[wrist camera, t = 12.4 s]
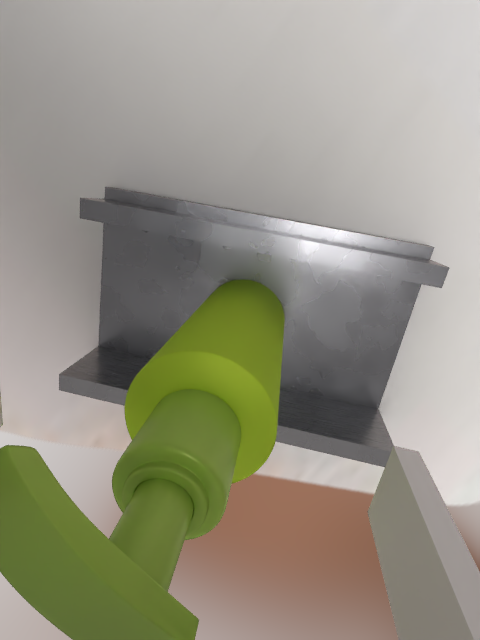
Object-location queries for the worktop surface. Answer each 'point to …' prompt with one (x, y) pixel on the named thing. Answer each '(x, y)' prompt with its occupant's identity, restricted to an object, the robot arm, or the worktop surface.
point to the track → (290, 288)
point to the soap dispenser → (152, 477)
